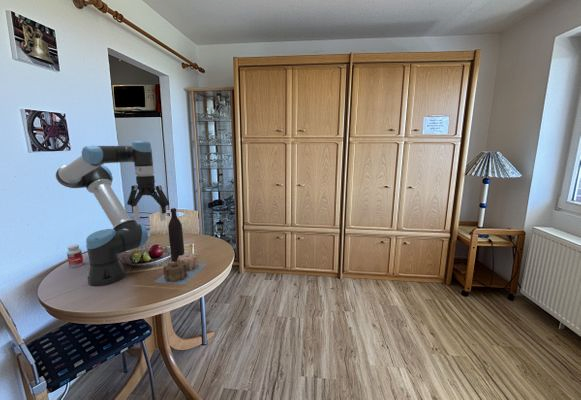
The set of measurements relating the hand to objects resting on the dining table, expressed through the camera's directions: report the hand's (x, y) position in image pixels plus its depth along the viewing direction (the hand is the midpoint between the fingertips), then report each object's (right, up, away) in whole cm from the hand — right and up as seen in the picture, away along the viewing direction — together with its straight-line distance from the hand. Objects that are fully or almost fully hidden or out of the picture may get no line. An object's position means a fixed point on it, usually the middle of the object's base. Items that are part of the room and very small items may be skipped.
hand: (150, 219), depth 127 cm
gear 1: (+12, -28, +2) cm, 30 cm away
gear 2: (+13, -26, +12) cm, 32 cm away
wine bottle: (+4, -25, +23) cm, 34 cm away
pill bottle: (-50, -26, +18) cm, 59 cm away
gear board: (+13, -28, +7) cm, 31 cm away
